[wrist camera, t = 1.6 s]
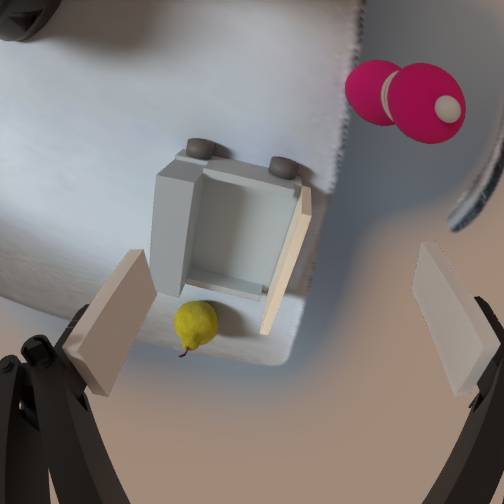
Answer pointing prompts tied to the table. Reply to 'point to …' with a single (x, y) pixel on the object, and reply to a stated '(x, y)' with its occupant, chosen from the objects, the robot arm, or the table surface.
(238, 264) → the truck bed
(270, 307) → the panel
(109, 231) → the table surface
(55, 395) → the robot arm
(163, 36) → the table surface
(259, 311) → the table surface
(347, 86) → the pepper mill
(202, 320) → the fruit
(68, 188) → the table surface
